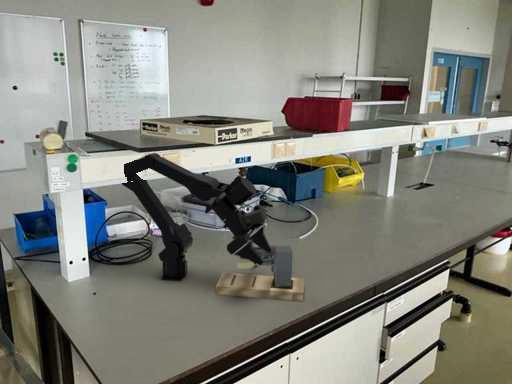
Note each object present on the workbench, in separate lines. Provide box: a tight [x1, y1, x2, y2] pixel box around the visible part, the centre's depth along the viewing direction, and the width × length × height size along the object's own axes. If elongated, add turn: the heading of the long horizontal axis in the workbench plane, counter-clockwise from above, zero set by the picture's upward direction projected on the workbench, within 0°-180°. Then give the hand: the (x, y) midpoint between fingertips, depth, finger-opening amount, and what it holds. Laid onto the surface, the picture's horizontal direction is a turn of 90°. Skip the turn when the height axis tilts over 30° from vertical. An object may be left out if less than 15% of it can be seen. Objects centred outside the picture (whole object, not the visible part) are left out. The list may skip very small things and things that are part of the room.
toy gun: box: [236, 245, 275, 273], centre depth 141 cm, size 18×5×15 cm
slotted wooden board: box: [215, 272, 305, 302], centre depth 121 cm, size 24×9×3 cm, turn 83°
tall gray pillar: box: [272, 245, 293, 289], centre depth 119 cm, size 4×4×13 cm
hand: (266, 257), depth 119 cm, fingers open, 9 cm apart
